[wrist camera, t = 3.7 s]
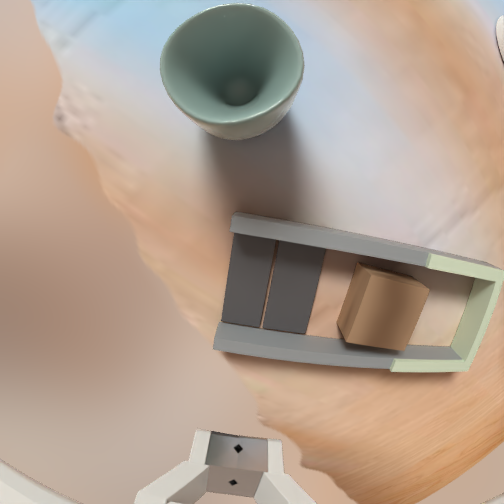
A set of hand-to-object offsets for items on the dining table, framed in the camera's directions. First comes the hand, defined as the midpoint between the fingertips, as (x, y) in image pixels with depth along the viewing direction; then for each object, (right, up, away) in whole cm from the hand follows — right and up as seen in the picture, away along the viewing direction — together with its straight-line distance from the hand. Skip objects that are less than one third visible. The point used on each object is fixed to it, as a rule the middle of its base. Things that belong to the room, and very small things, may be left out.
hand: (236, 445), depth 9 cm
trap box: (+12, +2, +18) cm, 21 cm away
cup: (0, +19, +14) cm, 24 cm away
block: (+12, +2, +18) cm, 22 cm away
